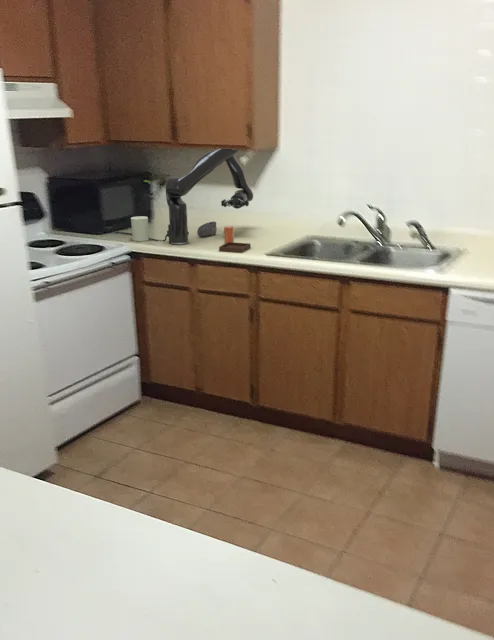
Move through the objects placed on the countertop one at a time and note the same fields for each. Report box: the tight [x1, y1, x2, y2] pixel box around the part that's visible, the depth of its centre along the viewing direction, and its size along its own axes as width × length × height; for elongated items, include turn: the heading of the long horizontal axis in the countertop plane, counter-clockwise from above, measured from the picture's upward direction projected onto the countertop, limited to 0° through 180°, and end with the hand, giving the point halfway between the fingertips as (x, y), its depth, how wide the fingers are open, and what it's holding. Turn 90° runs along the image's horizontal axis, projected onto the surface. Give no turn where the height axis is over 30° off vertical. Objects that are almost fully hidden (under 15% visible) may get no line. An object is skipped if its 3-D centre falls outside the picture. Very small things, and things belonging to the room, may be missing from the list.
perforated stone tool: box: [196, 221, 218, 238], centre depth 364 cm, size 15×5×7 cm, turn 139°
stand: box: [218, 241, 252, 254], centre depth 333 cm, size 12×12×2 cm
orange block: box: [223, 225, 235, 245], centre depth 343 cm, size 5×5×9 cm
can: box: [130, 215, 150, 242], centre depth 357 cm, size 9×9×12 cm
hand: (232, 205), depth 347 cm, fingers open, 8 cm apart
